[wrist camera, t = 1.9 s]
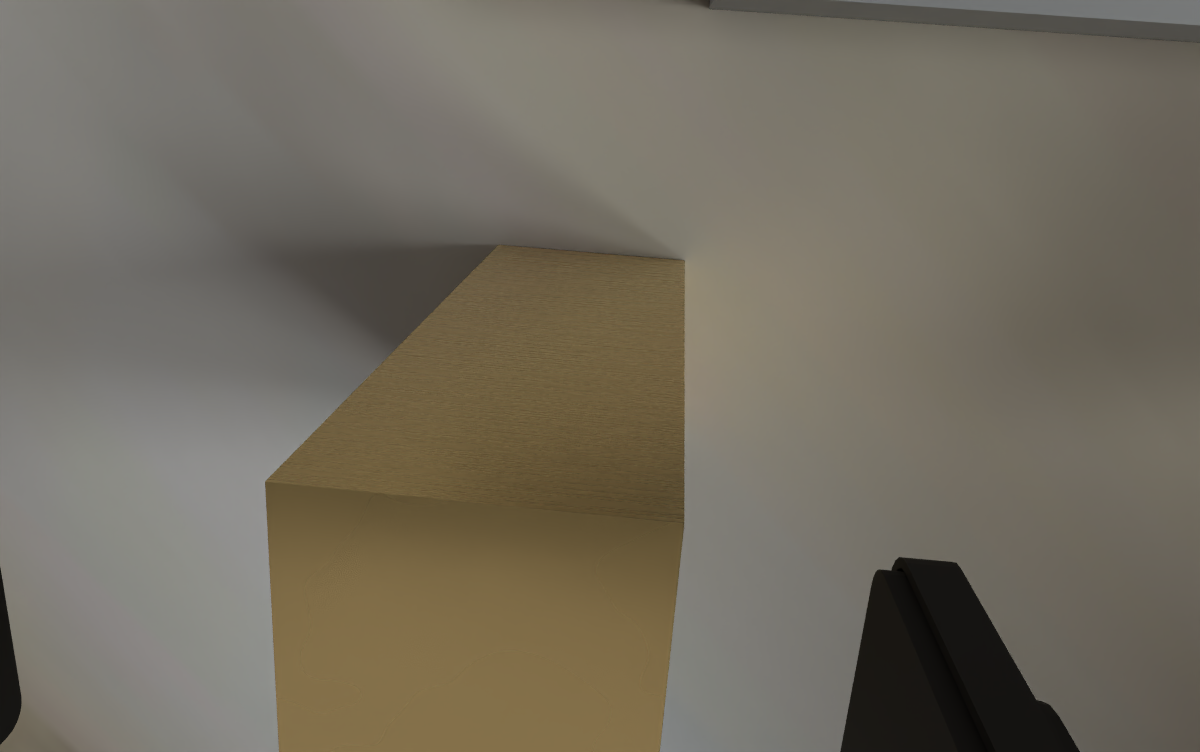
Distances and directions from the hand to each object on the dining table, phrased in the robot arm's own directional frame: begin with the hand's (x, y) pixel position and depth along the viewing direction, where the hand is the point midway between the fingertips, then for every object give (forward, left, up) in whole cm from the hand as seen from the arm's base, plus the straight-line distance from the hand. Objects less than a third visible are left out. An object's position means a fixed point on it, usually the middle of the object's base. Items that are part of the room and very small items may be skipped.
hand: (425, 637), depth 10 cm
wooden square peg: (-1, 0, -12) cm, 12 cm away
